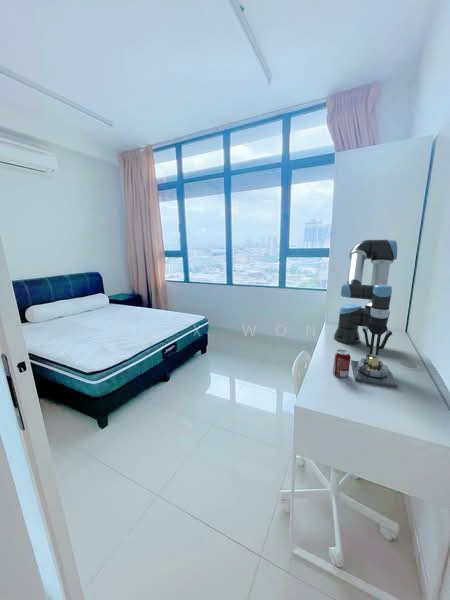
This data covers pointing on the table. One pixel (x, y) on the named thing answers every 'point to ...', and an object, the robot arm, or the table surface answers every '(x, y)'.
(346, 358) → the soda can
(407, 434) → the table surface
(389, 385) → the base plate
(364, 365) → the octagonal ring panel
